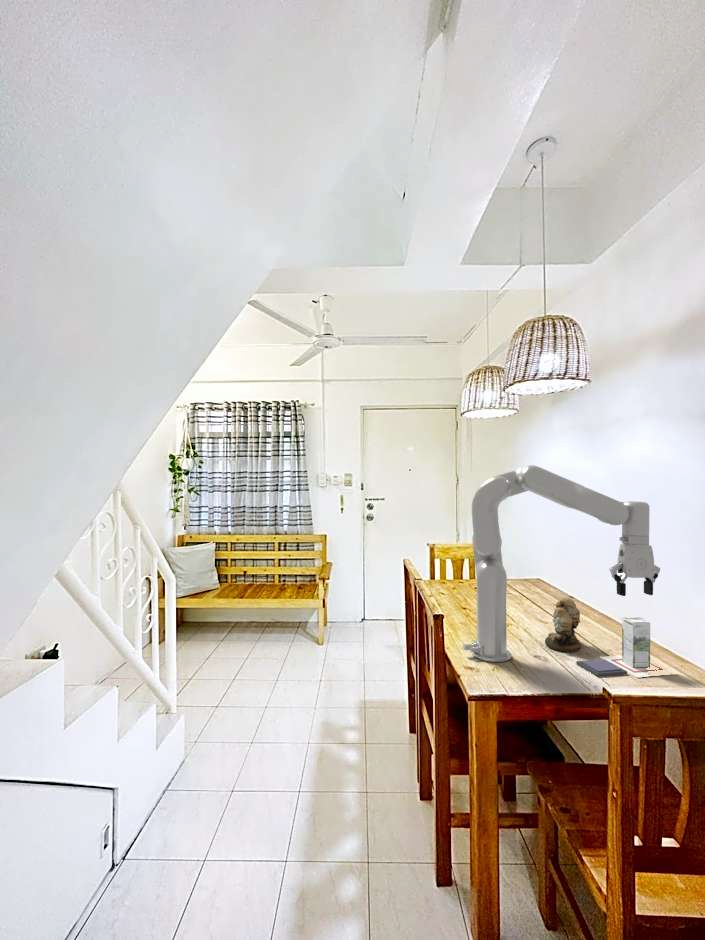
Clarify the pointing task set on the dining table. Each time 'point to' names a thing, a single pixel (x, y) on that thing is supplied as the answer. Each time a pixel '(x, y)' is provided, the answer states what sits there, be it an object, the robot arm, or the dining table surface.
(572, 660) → the dining table surface
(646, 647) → the syrup box
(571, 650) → the tan lumpy figure
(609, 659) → the marked sheet
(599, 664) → the ink pad
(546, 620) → the dining table surface
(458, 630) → the dining table surface
